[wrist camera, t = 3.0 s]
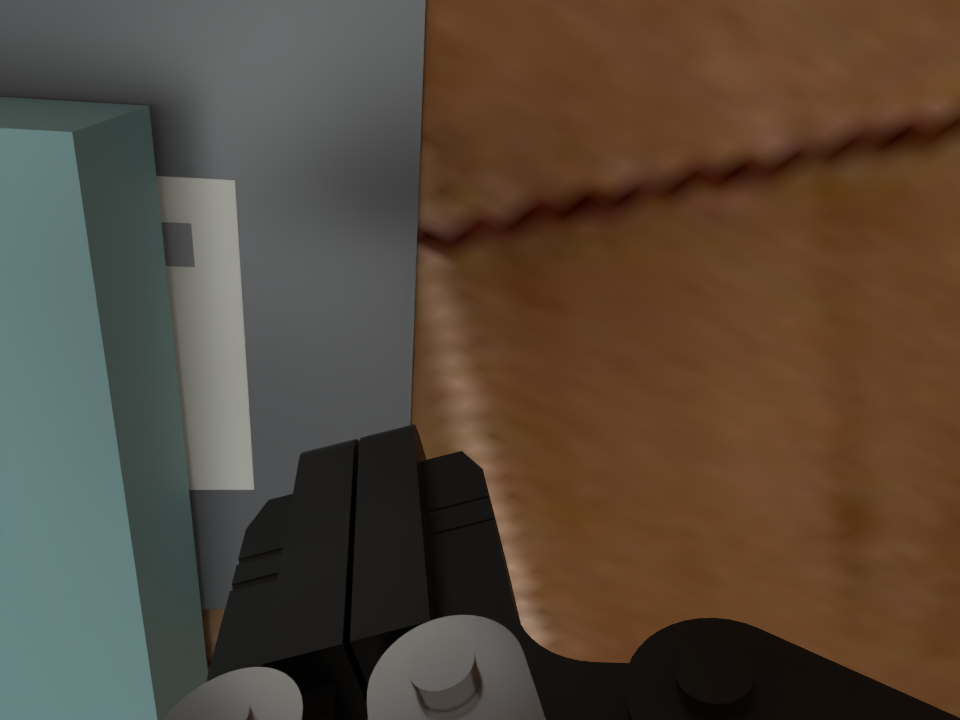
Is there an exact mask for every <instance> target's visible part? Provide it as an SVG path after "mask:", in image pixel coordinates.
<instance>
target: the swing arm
mask: <svg viewBox="0 0 960 720" xmlns="http://www.w3.org/2000/svg"><path fill="white" fill-rule="evenodd" d="M207 677H208V669H207V660H206V650H205V641H204V631H203V621H202V612H201V602H200V592H199V583H198V573H197V563H196V554H195V544H194V534H193V525H192V515H191V505H190V496H189V486H188V476H187V467H186V457H185V447H184V438H183V428H182V419H181V409H180V399H179V390H178V380H177V370H176V361H175V351H174V341H173V332H172V322H171V312H170V303H169V293H168V283H167V274H166V264H165V254H164V245H163V235H162V225H161V216H160V206H159V197H158V187H157V177H156V168H155V158H154V148H153V139H152V129H151V119H150V110H149V106H145V105H129V104H112V103H95V102H78V101H61V100H45V99H28V98H11V97H0V720H162V719H163V718H164V717H165V716H166V714H167V713H168V712H169V711H170V710H171V709H172V708H173V707H174V706H175V705H176V704H177V703H178V702H179V701H180V700H182V699H183V698H184V697H185V696H187V695H188V694H189V693H190V692H192V691H193V690H195V689H196V688H198V687H199V686H201V685H202V684H204V683H206V681H207Z"/></svg>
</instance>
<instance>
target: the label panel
mask: <svg viewBox="0 0 960 720" xmlns="http://www.w3.org/2000/svg"><path fill="white" fill-rule="evenodd" d="M425 7H426V0H0V97H11V98H28V99H45V100H61V101H78V102H95V103H112V104H129V105H145V106H149V110H150V119H151V129H152V139H153V148H154V158H155V168H156V177H157V187H158V197H159V206H160V216H161V225H162V235H163V245H164V254H165V264H166V274H167V283H168V293H169V303H170V312H171V322H172V332H173V341H174V351H175V361H176V370H177V380H178V390H179V399H180V409H181V419H182V428H183V438H184V447H185V457H186V467H187V476H188V486H189V496H190V505H191V515H192V525H193V534H194V544H195V554H196V563H197V573H198V583H199V592H200V602H201V610H202V609H225V608H226V604H227V600H228V596H229V592H230V591H232V590H233V588H232V581H233V577H234V573H235V569H236V565H239V560H238V558H239V554H240V550H241V546H242V542H243V538H244V535H245V531H246V528H247V527H248V526H249V524H250V523H251V522H252V521H253V519H254V518H255V517H256V515H257V514H258V513H259V512H260V510H261V509H262V508H263V506H264V505H265V504H266V502H267V501H268V500H270V499H274V498H278V497H282V496H286V495H290V494H293V490H294V484H295V479H296V473H297V468H298V462H299V457H300V454H301V453H302V452H306V451H310V450H314V449H318V448H322V447H326V446H330V445H334V444H338V443H342V442H346V441H350V440H354V439H358V441H359V440H360V438H361V437H365V436H369V435H373V434H377V433H381V432H385V431H389V430H393V429H397V428H401V427H405V426H409V425H410V423H411V395H412V367H413V339H414V312H415V284H416V256H417V229H418V201H419V173H420V145H421V118H422V90H423V62H424V35H425Z"/></svg>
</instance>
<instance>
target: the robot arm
mask: <svg viewBox="0 0 960 720" xmlns="http://www.w3.org/2000/svg"><path fill="white" fill-rule="evenodd" d="M238 560H239V565H236V569H235V573H234V577H233V581H232V588H233V590H232V591H230V592H229V596H228V600H227V604H226V608H225V612H224V615H223V619H222V623H221V627H220V631H219V635H218V638H217V642H216V646H215V650H214V654H213V658H212V662H211V665H210V669H209V673H208V677H207V681H206V683H204V684H202V685H201V686H199V687H198V688H196V689H195V690H193V691H192V692H190V693H189V694H188V695H187V696H185V697H184V698H183V699H182V700H180V701H179V702H178V703H177V704H176V705H175V706H174V707H173V708H172V709H171V710H170V711H169V712H168V713H167V714H166V716H165V717H164V718H163V719H162V720H960V718H958V717H956V716H954V715H952V714H950V713H947V712H945V711H943V710H941V709H938V708H936V707H934V706H932V705H929V704H927V703H925V702H923V701H920V700H918V699H916V698H914V697H911V696H909V695H907V694H905V693H902V692H900V691H898V690H896V689H893V688H891V687H889V686H887V685H884V684H882V683H880V682H878V681H875V680H873V679H871V678H869V677H867V676H864V675H862V674H860V673H858V672H855V671H853V670H851V669H849V668H846V667H844V666H842V665H840V664H837V663H835V662H833V661H831V660H828V659H826V658H824V657H822V656H819V655H817V654H815V653H813V652H810V651H808V650H806V649H804V648H801V647H799V646H797V645H795V644H792V643H790V642H788V641H786V640H784V639H781V638H779V637H777V636H775V635H772V634H770V633H768V632H766V631H763V630H761V629H759V628H756V627H754V626H751V625H748V624H745V623H742V622H738V621H733V620H729V619H719V618H699V619H692V620H686V621H682V622H679V623H676V624H672V625H670V626H668V627H666V628H664V629H662V630H659V631H658V632H656V633H655V634H654V635H652V636H651V637H649V638H648V639H647V640H646V641H645V642H644V643H643V644H642V645H641V646H640V647H639V648H638V649H637V651H636V652H635V654H634V655H633V657H632V659H631V661H630V663H602V662H587V661H578V660H574V659H570V658H565V657H563V656H560V655H557V654H555V653H552V652H551V651H549V650H547V649H545V648H543V647H542V646H540V645H539V644H538V643H536V642H535V641H534V640H533V639H532V638H531V637H530V636H529V635H528V634H527V633H526V632H525V631H524V629H523V627H522V626H521V623H520V619H519V614H518V610H517V606H516V602H515V597H514V593H513V589H512V585H511V580H510V576H509V572H508V568H507V563H506V559H505V555H504V551H503V547H502V543H501V540H500V536H499V532H498V528H497V524H496V520H495V516H494V512H493V508H492V504H491V500H490V496H489V492H488V488H487V484H486V480H485V476H484V473H483V469H482V468H481V467H479V466H478V465H477V464H476V463H475V462H474V461H473V460H471V459H470V458H469V457H468V456H467V455H466V454H464V453H463V452H462V451H460V452H456V453H452V454H448V455H444V456H440V457H436V458H432V459H428V460H426V457H425V453H424V450H423V446H422V443H421V440H420V436H419V433H418V431H417V428H416V426H415V424H413V425H409V426H405V427H401V428H397V429H393V430H389V431H385V432H381V433H377V434H373V435H369V436H365V437H361V438H360V440H359V441H358V439H354V440H350V441H346V442H342V443H338V444H334V445H330V446H326V447H322V448H318V449H314V450H310V451H306V452H302V453H301V454H300V457H299V462H298V468H297V473H296V479H295V484H294V490H293V494H290V495H286V496H282V497H278V498H274V499H270V500H268V501H267V502H266V504H265V505H264V506H263V508H262V509H261V510H260V512H259V513H258V514H257V515H256V517H255V518H254V519H253V521H252V522H251V523H250V524H249V526H248V527H247V528H246V531H245V535H244V538H243V542H242V546H241V550H240V554H239V558H238Z"/></svg>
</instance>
